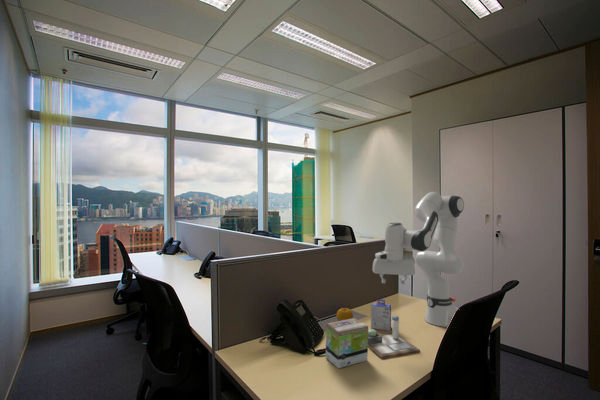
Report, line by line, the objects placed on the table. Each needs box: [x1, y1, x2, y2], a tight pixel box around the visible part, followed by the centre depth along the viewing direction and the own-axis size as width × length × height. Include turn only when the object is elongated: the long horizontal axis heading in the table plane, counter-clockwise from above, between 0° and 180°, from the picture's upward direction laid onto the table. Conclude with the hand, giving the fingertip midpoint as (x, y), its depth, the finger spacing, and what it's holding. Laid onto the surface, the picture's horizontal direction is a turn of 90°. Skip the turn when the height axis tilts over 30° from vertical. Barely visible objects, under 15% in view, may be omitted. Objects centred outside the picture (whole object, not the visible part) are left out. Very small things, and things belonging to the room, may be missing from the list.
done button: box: [368, 328, 377, 337], centre depth 135 cm, size 4×4×3 cm
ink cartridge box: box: [370, 298, 392, 332], centre depth 152 cm, size 10×6×14 cm, turn 66°
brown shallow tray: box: [368, 331, 421, 360], centre depth 132 cm, size 20×18×4 cm
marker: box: [391, 315, 400, 340], centre depth 137 cm, size 3×3×10 cm
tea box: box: [325, 317, 369, 369], centre depth 121 cm, size 15×10×15 cm
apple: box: [336, 307, 354, 321], centre depth 155 cm, size 9×9×9 cm
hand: (393, 283), depth 142 cm, fingers open, 8 cm apart
